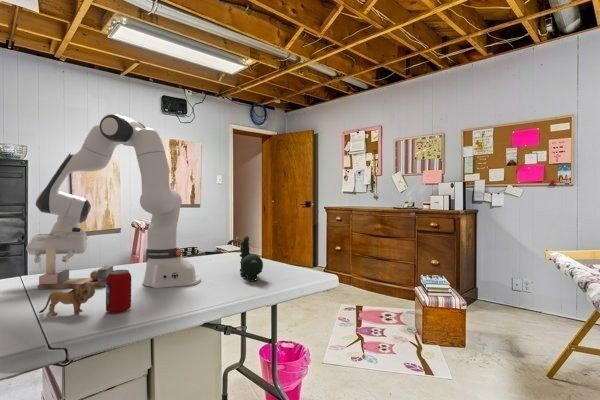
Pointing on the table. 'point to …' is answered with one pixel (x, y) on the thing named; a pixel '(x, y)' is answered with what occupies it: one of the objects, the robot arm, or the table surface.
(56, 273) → the press slider
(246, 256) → the toy figurine
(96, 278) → the press base
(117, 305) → the beverage can
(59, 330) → the table surface
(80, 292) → the lion figurine
